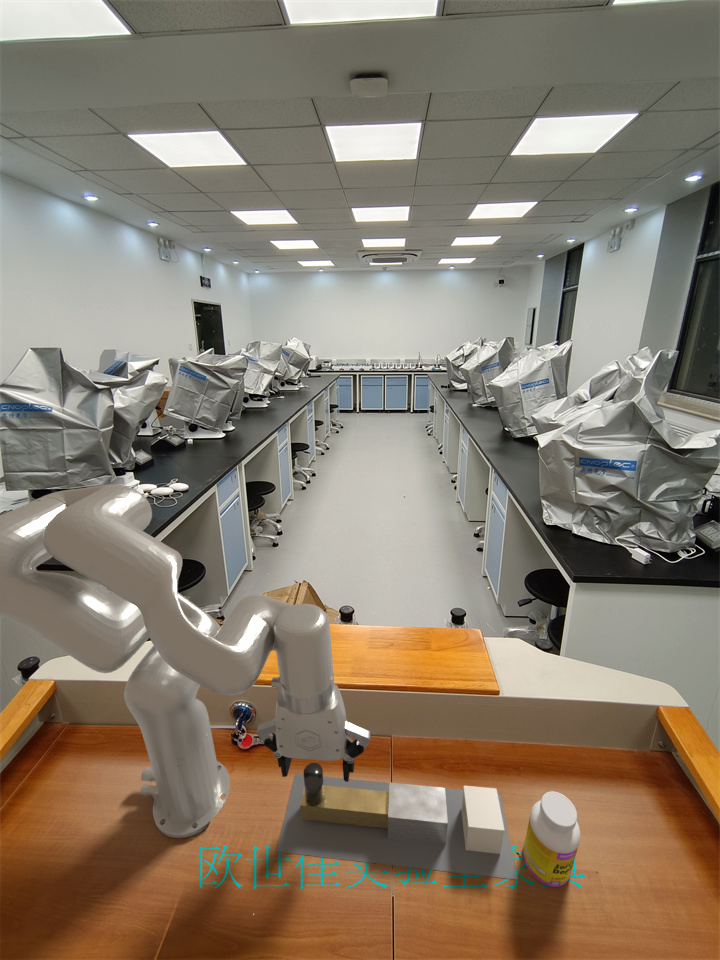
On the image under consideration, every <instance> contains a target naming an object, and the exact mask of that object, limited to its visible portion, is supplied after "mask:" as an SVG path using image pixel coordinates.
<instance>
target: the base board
mask: <svg viewBox="0 0 720 960" xmlns="http://www.w3.org/2000/svg"><path fill="white" fill-rule="evenodd" d="M323 785H325V786H335V787H345V788H356V789H366V790H376V791H386V792H389V782H384V781H374V780H373V781H371V780H364V779H363V780H362V779H351V778H349V781H348V782H345V780H344V777H342V778H341V777H335V776H334V777H332V776H331V777H330V776H323ZM304 786H305V785H304V773H303V774H302V773H295V774H294V779H293V782H292V787H291V791H290V793H289V794H290V795H289V799H288V803H287V808H286V811H285V816H284V820H283V822H282V823H283V824H282V827H281V830H280V834H279V840H278V842H277V843H278V844H277V847H276V853H285V854H293V855H301V856H310V857H317V858H327V859H336V860H342V861H343V860H344V861H352V862H362V863H370V864H371V863H372V864H377V865H378V864H379V865H387V866H395V867H397V866H398V867H404V868H412V869H419V870H420V869H422V870H430V871H438V872H440V871H441V872H446V873H457V874H464V875H471V876H473V875H474V876H481V877H488V878H490V877H491V878H498V879H507V880H515V881H518V876H517V870H516V865H515V861H514V857H513V850H512V845H511V840H510V835H509V830H508V825H507V820H506V819H507V818H506V816H505V810H504V805H503V799H502V796H501V793H500V792H499V793H498V792H497V794H498V799H499V804H500V809H501V815H502V820H503V825H504V830H505V831H504V836H503V842H502V848H501V854H496V853H487V852H478V851H469V850H466V848H465V839H464V830H463V821H462V812H461V804H462V795H463V789H454V788H447V787H444V788H445V795H446V807H447V819H448V827H447V837H446V845H441V844H432V843H423V842H414V841H405V840H396V839H388V828H379V827H369V826H360V825H351V824H342V823H332V822H323V821H314V820H304V819H302V818H301V807H300V804H301V800H302V795H303V791H304Z"/></svg>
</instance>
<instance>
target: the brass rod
mask: <svg viewBox="0 0 720 960" xmlns="http://www.w3.org/2000/svg"><path fill="white" fill-rule="evenodd" d="M303 775H304V785H305V786H304V791H303V795H302V800H301V804H300V807H301V818H302V819H304V820H314V821H323V822H332V823H342V824H351V825H360V826H369V827H379V828H388V808H389V792H386V791H376V790H366V789H356V788H345V787H335V786H325V785H323V777H324V773H323V767H322V765H321V764H319V763H318V762H311V763H308V764H307V765H306V766H305V767H304V770H303Z"/></svg>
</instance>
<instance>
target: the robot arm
mask: <svg viewBox="0 0 720 960" xmlns="http://www.w3.org/2000/svg"><path fill="white" fill-rule="evenodd" d="M152 509H153V508H152V507H151V504H150V502H149V500H148V499H147V498H146V497H145V496H144V494H142V493H141V492H139V491H138V490H136V489H135V488H132V487H130V486H127V485H124V484H103V485H96V486H88V487H82V488H72V489H66V490H60V491H55V492H52V493H48V494H46V495H43V496H41V497H39V498H37V499H34V500H33V501H30V502H28V503H25V504H24V505H21V506H20V507H17V508H15V509H12V510H10V511H7V512H5V513H3V514H1V515H0V616H1V617H3V618H6V619H9V620H12V621H14V622H16V623H19V624H20V625H23V626H25V627H27V628H28V629H30V630H32V631H34V632H35V633H36V634H38V635H39V636H40V637H42V638H44V640H46V641H48V642H49V643H51V644H52V645H54V646H55V647H56V648H58V649H59V650H61V651H62V652H63V653H66V654H67V655H68V656H70V657H71V658H73V659H75V660H76V661H77V662H79V663H81V664H82V665H84V666H85V667H87V668H88V669H91V670H92V671H95V672H98V673H101V674H109V673H112V672H115V671H117V670H118V669H120V668H122V667H123V666H124V665H125V664H126V663H127V662H129V661H130V659H132V657H133V656H134V655H136V653H137V652H139V650H140V649H141V648H142V646H143V645H145V643H146V642H147V641H148V640H149V639H150V641H151V643H152V645H153V646H152V647H151V648H150V649H149V650H148V652H147V653H146V654H145V655H144V656H143V658H142V659H141V660H140V661H139V663H138V664H137V665H136V667H135V668H134V669H133V671H132V672H131V674H130V676H129V678H128V680H127V682H126V684H125V688H124V695H123V697H124V701H125V705H126V707H127V708H128V710H129V712H130V713H131V715H132V717H134V719H135V722H136V724H137V725H138V727H139V729H140V732H141V734H142V738H143V741H144V744H145V748H146V751H147V752H146V753H147V755H148V760H149V763H150V767H145V768H144V769H143V770H142V773H141V776H140V780H141V781H142V782H150V783H153V782H155V785H150V784H142V786H141V788H140V791H139V792H140V793H139V794H140V795H143V796H152V798H153V799H154V800H153V805H152V817H153V820H154V822H155V823H154V824H155V826H156V828H157V829H158V831H159V832H161V833H162V834H163V835H165V836H167V837H169V838H174V839H175V838H176V839H184V838H188V837H191V836H195V835H196V834H199V833H201V832H203V831H204V830H205V829H207V828H208V827H209V826H210V823H211V821H212V820H213V819H214V818H215V816H217V815H218V813H219V812H220V810H221V809H222V808H223V807H224V805H225V803H226V801H227V798H228V797H229V796H228V795H229V793H230V787H231V786H230V785H231V784H230V783H231V781H230V775H229V771H228V769H227V767H226V766H225V765H223V764H222V762H219V761H218V760H217V754H216V750H215V744H214V738H213V734H212V728H211V723H210V718H209V713H208V710H207V707H206V705H205V703H204V702H202V701H201V700H200V699H199V698H197V695H198V692H199V689H200V687H201V686H202V687H203V688H205V689H206V690H207V689H208V691H209V690H210V691H211V692H215V693H217V694H219V695H220V694H221V695H226V696H237V695H242V694H244V693H246V692H248V690H250V689H251V688H252V687H253V686H254V685H255V684H256V682H257V681H258V679H259V678H260V677H259V676H260V675H261V673H262V672H263V669H264V667H265V665H266V663H267V661H268V658H269V656H270V654H271V652H273V651H274V652H276V660H277V667H278V668H277V669H278V675H279V676H278V677H276V676H275V677H274V676H273V677H272V678H271V679H272V680H271V686H270V687H271V688H274V689H275V688H276V689H278V691H279V693H278V696H277V698H276V703H275V704H276V705H275V718H274V719H270V720H268V721H264V722H262V723H260V724H258V727H257V730H256V732H255V733H256V735H257V736H258V738H259V739H260V740H261V741H263V745H264V746H265V747H266V748H268V749H269V750H271V752H273V757H274V758H275V759H277V763H278V764H277V765H278V768H280V771H281V777H283V778H284V777H285V778H286V777H288V775H289V770H290V767H291V763H292V760H293V759H297V760H298V759H300V760H312V761H314V760H315V761H327V762H330V761H332V762H333V761H334V762H335V761H338V760H339V761H340V760H341V759H342V775H343V776H342V778H344V780H345V782H348V781H349V779H350V774H351V773H354V771H355V758H357V757H359V756H360V755H361V754H363V753H364V751H365V748H367V746H368V745H369V744H370V743H371V736H372V735H371V734H372V733H371V731H370V730H368V729H365V728H363V727H360V726H358V725H356V724H353V723H352V722H349V721H348V719H347V718H348V717H347V712H346V708H345V703H344V700H343V695H342V693H341V691H340V688H339V687H338V685H337V684H335V676H334V674H335V673H334V663H333V661H334V660H333V652H332V651H333V648H332V636H331V625H330V624H331V623H330V620H329V616H328V614H327V613H326V611H324V609H322V608H321V607H320V606H318V605H316V604H311V603H299V604H293V603H288V602H285V601H282V600H279V599H275V598H273V597H269V596H266V595H262V594H261V595H260V594H250V595H247V596H244V597H243V598H242V599H240V600H239V601H238V603H237V604H236V605H235V606H234V608H233V609H232V611H230V613H229V615H228V617H227V618H226V619H225V621H224V622H223V624H222V625H220V624H219V623H218V621H217V620H216V619H215V618H214V617H212V616H211V615H210V614H208V613H207V611H204V610H203V609H201V607H199V606H197V605H196V604H195V603H194V602H192V601H191V600H189V599H188V598H187V597H185V596H184V595H182V594H181V593H180V592H178V591H179V587H178V586H179V578H180V575H181V572H182V567H183V557H182V554H180V552H179V551H177V550H175V549H174V548H172V547H171V546H168V545H167V544H166V543H163V542H162V541H161V540H159V539H157V538H155V537H154V536H152V535H150V534H148V533H147V532H146V531H144V530H145V529H147V527H148V526H149V525H150V522H151V521H152V519H153V510H152ZM51 558H54V559H55V560H56V561H58V562H59V563H61V564H63V565H64V566H66V567H67V568H70V569H72V570H73V571H75V572H77V573H78V574H80V575H82V576H83V577H85V578H87V579H88V580H90V581H92V582H94V583H96V584H97V585H99V586H101V588H104V589H106V590H107V591H109V592H108V593H107V594H104V593H101V592H100V591H98V590H96V589H95V588H93V587H92V586H91V585H89V584H87V583H86V582H85V581H83V580H82V579H80V578H78V577H76V576H72V575H69V574H65V573H64V574H63V573H59V572H52V571H51V572H49V571H48V572H47V571H38V570H37V567H39V566H40V565H41V564H44V562H46V561H48V560H50V559H51ZM353 739H354V740H353ZM222 795H225V796H224V797H223V798H221V796H222Z"/></svg>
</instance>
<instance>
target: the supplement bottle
mask: <svg viewBox="0 0 720 960" xmlns="http://www.w3.org/2000/svg"><path fill="white" fill-rule="evenodd" d="M530 810H531V811H530V814H529V820H528V824H527V828H526V833H525V838H524V843H523V848H522V852H523V853H522V854H523V859H524V861H525V864H526V867H527V868H528V869H529V871H530V873H531V874H532V876H534V877H535V879H537V880H538V881H540V882H541V883H542V884H544V885H547V886H549V887H553V888H558V887H562V886H564V885H566V884H567V883H568V881H569V879H570V877H571V874H572V871H573V866H574V863H575V859H576V856H577V853H578V848H579V846H580V843H581V842H580V841H581V828H580V826H579V823H578V821H577V820H578V813H577V809H576V806H575V805H574V803H573V802H572V801H571V800H570V799H569V798H568V797H567V796H565V795H564V794H562V793H560V792H557V791H552V790H551V791H548V792H545V793H544V794H543V795H542V797H541V799H540V800H538V801H537V802H535V803H534V804H533V806H532V808H531V809H530Z"/></svg>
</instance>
